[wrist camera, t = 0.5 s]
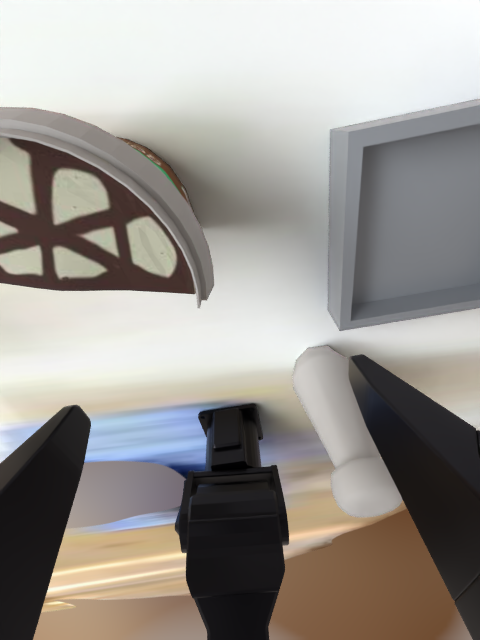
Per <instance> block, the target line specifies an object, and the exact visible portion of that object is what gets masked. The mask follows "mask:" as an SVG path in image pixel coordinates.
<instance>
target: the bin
mask: <svg viewBox="0 0 480 640" xmlns="http://www.w3.org/2000/svg"><path fill="white" fill-rule="evenodd" d="M476 308H480V99H477V100H472V101H467V102H462V103H457V104H452V105H447V106H443V107H438V108H433V109H428V110H423V111H418V112H413V113H408V114H404V115H399V116H394V117H389V118H384V119H379V120H374V121H370V122H365V123H360V124H355V125H350V126H345V127H340V128H335V129H331V130H330V181H329V255H328V311H329V313H330V315H331V316H332V318H333V320H334V322H335V324H336V325H337V327H338V329H339V331H343V330H349V329H355V328H361V327H367V326H373V325H379V324H385V323H391V322H397V321H403V320H410V319H416V318H422V317H428V316H434V315H440V314H446V313H452V312H458V311H464V310H470V309H476Z"/></svg>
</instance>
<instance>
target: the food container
mask: <svg viewBox="0 0 480 640" xmlns="http://www.w3.org/2000/svg"><path fill="white" fill-rule="evenodd" d="M0 283H4V284H12V285H19V286H26V287H33V288H41V289H50V290H59V291H95V290H133V291H151V292H169V293H185V294H195V293H196V294H197V305H198V308H200V305H201V300H207V299H208V297H209V295H210V293H211V291H212V288H213V286H214V276H213V265H212V260H211V255H210V251H209V246H208V244H207V241H206V239H205V236H204V234H203V231H202V228H201V226H200V224H199V222H198V220H197V219H196V217H195V215H194V211H193V209H192V206H191V203H190V200H189V198H188V195H187V192H186V189H185V187H184V186H183V184H182V183H181V181H180V180H179V179H178V177H177V176H176V174H175V173H174V172H173V170H172V169H171V167H170V166H169V165H168V164H167V163H166V162H164V161H163V160H162V159H161V158H159V157H158V156H157V155H156V154H154V153H153V152H152V151H151V150H149V149H148V148H147V147H144V146H142V145H139V144H137V143H135V142H132V141H130V140H128V139H123V138H118V137H115V136H113V135H111V134H109V133H108V132H106V131H104V130H102V129H100V128H99V127H97V126H95V125H92V124H89V123H87V122H84V121H81V120H79V119H76V118H73V117H70V116H68V115H65V114H61V113H56V112H51V111H46V110H41V109H36V108H17V107H0Z"/></svg>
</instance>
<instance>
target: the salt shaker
mask: <svg viewBox="0 0 480 640" xmlns="http://www.w3.org/2000/svg"><path fill="white" fill-rule="evenodd" d="M348 369H349V359H348V358H346V357H345V356H343V355H341V354H339V353H337V352H335V351H334V350H332V349H331V348H330V347H328V346H327V345H325V346H318V347H311V348H307V349H306V350H305V351H304V352H303V353H302V354H301V356H300V357H299V358H298V359H297V360H296V362H295V366H294V371H293V375H292V376H293V389H294V391H295V393H296V395H297V397H298V398H299V400H300V402H301V404H302V406H303V408H304V410H305V412H306V413H307V415H308V417H309V419H310V421H311V423H312V425H313V427H314V428H315V430H316V432H317V434H318V436H319V438H320V440H321V442H322V443H323V445H324V447H325V449H326V451H327V453H328V455H329V457H330V459H331V461H332V463H333V465H334V467H335V470H334V471H333V472H332V473H331V488H332V492H333V496H334V498H335V500H336V503H337V505H338V507H339V508H341V509H342V510H343V511H344V512H345V513H347V514H348V515H350V516H354V517H373V516H379V515H382V514H385V513H387V512H390V511H393V510H394V509H395V508H397V507H398V506H400V504H401V502H402V497H401V495H400V493H399V491H398V489H397V487H396V485H395V483H394V481H393V479H392V477H391V475H390V473H389V471H388V469H387V467H386V465H385V463H384V461H383V459H381V458H380V455H379V451H378V449H377V447H376V445H375V443H374V441H373V439H372V437H371V435H370V433H369V431H368V429H367V427H366V425H365V422H364V419H363V417H362V414H361V411H360V409H359V406H358V403H357V400H356V398H355V395H354V392H353V390H352V387H351V384H350V381H349V377H348Z"/></svg>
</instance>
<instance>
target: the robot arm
mask: <svg viewBox="0 0 480 640" xmlns="http://www.w3.org/2000/svg"><path fill="white" fill-rule="evenodd" d="M348 377H349V381H350V384H351V387H352V390H353V392H354V395H355V398H356V400H357V403H358V406H359V409H360V411H361V414H362V417H363V419H364V422H365V425H366V427H367V429H368V431H369V433H370V435H371V437H372V439H373V441H374V443H375V445H376V447H377V449H378V451H379V453H380V455H381V457H382V459H383V461H384V463H385V465H386V467H387V469H388V471H389V473H390V475H391V477H392V479H393V481H394V483H395V485H396V487H397V489H398V491H399V493H400V495H401V497H402V499H403V501H404V503H405V505H406V507H407V509H408V511H409V513H410V515H411V517H412V519H413V521H414V523H415V525H416V527H417V529H418V531H419V533H420V535H421V537H422V539H423V541H424V543H425V545H426V546H427V549H428V551H429V553H430V555H431V557H432V559H433V561H434V563H435V565H436V567H437V569H438V571H439V572H440V575H441V576H442V579H443V580H444V583H445V585H446V587H447V589H448V591H449V592H450V594H451V597H452V598H453V600H454V601H455V605H456V607H457V609H458V611H459V613H460V615H461V617H462V619H463V621H464V623H465V625H466V627H467V629H468V631H469V633H470V635H471V637H472V639H473V640H480V431H479V430H477V431H476V428H474V427H473V426H471V425H470V424H468V423H467V422H465V421H464V420H462V419H461V418H459V417H458V416H456V415H455V414H453V413H452V412H450V411H449V410H447V409H446V408H444V407H443V406H441V405H439V404H438V403H436V402H435V401H433V400H432V399H430V398H429V397H427V396H426V395H424V394H423V393H421V392H420V391H418V390H417V389H415V388H414V387H412V386H411V385H409V384H408V383H406V382H404V381H403V380H401V379H400V378H398V377H397V376H395V375H394V374H392V373H391V372H389V371H388V370H386V369H385V368H383V367H382V366H380V365H379V364H377V363H376V362H374V361H372V360H371V359H369V358H368V357H366V356H365V355H355V356H351V357H350V358H349V369H348ZM198 418H199V421H200V423H201V425H202V428H203V430H204V432H205V435H206V437H207V445H206V467H205V471H197V472H195V471H189V472H188V478H187V479H186V480H185V481H184V489H183V498H182V503H181V506H180V509H179V512H178V516H177V519H176V523H175V531H176V532H177V533H178V535H179V538H180V544H181V551H182V553H187V557H186V581H187V584H188V587H189V590H190V593H191V596H192V598H194V600H195V602H196V605H197V607H198V610H199V612H200V615H201V617H202V620H203V622H204V624H205V627H206V629H207V640H269V632H268V626H269V622H270V619H271V616H272V612H273V609H274V606H275V602H276V599H277V596H278V593H279V589H280V586H281V583H282V579H283V576H284V572H285V564H284V555H283V546H282V545H288V544H289V531H288V521H287V513H286V507H285V502H284V497H283V492H282V488H281V483H280V478H279V474H278V469H277V465H271V466H270V467H261V459H260V450H259V441H258V440H262V439H263V434H262V429H261V425H260V420H259V416H258V411H257V406H256V405H255V404H249V405H242V406H236V407H229V408H223V409H216V410H210V411H203V412H200V413H199V415H198ZM90 428H91V421H90V419H89V417H88V416H87V415H86V414H85V412H84V411H83V410H82V409H81V407H80V406H78V405H71V406H66V407H64V408H62V409H61V410H60V411H59V412H58V413H57V414H55V415H54V416H53V417H52V418H51V419H50V420H49V421H48V422H46V423H45V424H44V425H43V426H42V427H41V428H40V429H39V430H37V431H36V432H35V433H34V434H33V435H32V436H31V437H30V438H28V439H27V440H26V441H25V442H24V443H23V444H22V445H21V446H19V447H18V448H17V449H16V450H15V451H14V452H13V453H12V454H10V455H9V456H8V457H7V458H6V459H5V460H4V461H3V462H1V463H0V640H33V637H34V634H35V630H36V627H37V624H38V620H39V617H40V613H41V610H42V607H43V603H44V600H45V596H46V593H47V590H48V586H49V583H50V579H51V576H52V573H53V569H54V566H55V562H56V559H57V556H58V552H59V549H60V545H61V542H62V539H63V535H64V532H65V528H66V525H67V521H68V518H69V515H70V511H71V507H72V505H73V501H74V498H75V494H76V491H77V487H78V484H79V481H80V477H81V473H82V469H83V465H84V460H85V454H86V449H87V444H88V438H89V433H90Z"/></svg>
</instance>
